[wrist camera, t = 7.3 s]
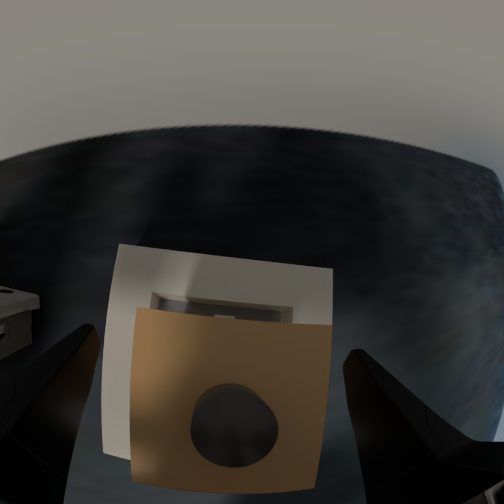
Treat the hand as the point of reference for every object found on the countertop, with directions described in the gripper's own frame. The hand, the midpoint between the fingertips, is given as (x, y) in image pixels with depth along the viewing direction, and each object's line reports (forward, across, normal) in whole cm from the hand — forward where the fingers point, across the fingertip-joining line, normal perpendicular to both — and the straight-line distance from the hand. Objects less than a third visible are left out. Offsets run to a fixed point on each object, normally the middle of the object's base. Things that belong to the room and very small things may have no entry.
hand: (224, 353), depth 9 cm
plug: (+5, 0, +7) cm, 9 cm away
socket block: (+5, 0, +7) cm, 9 cm away
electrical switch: (+5, +18, +8) cm, 20 cm away
